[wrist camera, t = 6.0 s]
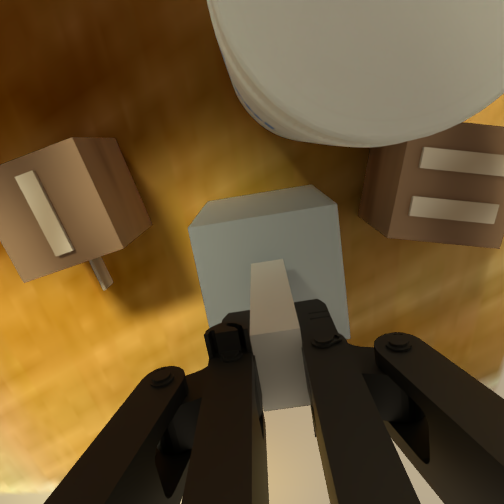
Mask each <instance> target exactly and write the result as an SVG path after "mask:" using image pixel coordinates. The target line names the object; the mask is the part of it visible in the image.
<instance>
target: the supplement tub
mask: <svg viewBox="0 0 504 504" xmlns="http://www.w3.org/2000/svg"><path fill="white" fill-rule="evenodd" d="M207 5H208V9H209V13H210V17H211V21H212V25H213V28H214V32H215V36H216V39H217V42H218V45H219V47H220V50H221V53H222V56H223V59H224V62H225V65H226V68H227V71H228V74H229V76H230V79H231V82H232V85H233V88H234V90H235V93H236V95H237V97H238V99H239V100H240V102H241V104H242V105H243V107H244V108H245V109H246V111H247V112H248V113H249V114H250V115H251V116H252V117H253V118H254V119H255V120H256V121H257V122H258V123H259V124H260V125H261V126H263V127H264V128H266V129H267V130H269V131H270V132H272V133H274V134H276V135H278V136H281V137H283V138H286V139H290V140H295V141H302V142H310V143H317V144H324V145H332V146H344V147H381V146H388V145H393V144H399V143H403V142H406V141H411V140H415V139H419V138H423V137H427V136H430V135H433V134H436V133H438V132H441V131H444V130H446V129H448V128H451V127H453V126H455V125H457V124H459V123H462V122H463V121H465V120H467V119H468V118H470V117H472V116H474V115H475V114H477V113H478V112H480V111H481V110H483V109H484V108H486V107H487V106H488V105H490V104H491V103H492V102H494V101H495V100H496V99H497V98H499V97H500V96H501V95H502V94H503V93H504V0H207Z"/></svg>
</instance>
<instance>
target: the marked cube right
mask: <svg viewBox="0 0 504 504" xmlns="http://www.w3.org/2000/svg"><path fill="white" fill-rule="evenodd" d="M358 216H359V217H360V218H361V219H363V220H364V221H365V222H367V223H368V224H369V225H371V226H372V227H373V228H375V229H376V230H377V231H379V232H380V233H382V234H383V235H384V236H386V237H387V238H394V239H404V240H415V241H425V242H435V243H445V244H456V245H466V246H476V247H486V248H497V249H500V246H501V242H502V239H503V236H504V127H501V126H492V125H482V124H473V123H463V122H462V123H459V124H457V125H455V126H453V127H451V128H448V129H446V130H444V131H441V132H438V133H436V134H433V135H430V136H427V137H423V138H419V139H415V140H411V141H406V142H403V143H399V144H393V145H388V146H381V147H370V151H369V157H368V162H367V168H366V173H365V179H364V184H363V190H362V195H361V201H360V206H359V212H358Z"/></svg>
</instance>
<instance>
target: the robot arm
mask: <svg viewBox="0 0 504 504" xmlns="http://www.w3.org/2000/svg"><path fill="white" fill-rule="evenodd" d="M204 338H205V342H206V347H207V351H208V355H209V363H208V366H207V367H206V368H204V369H202V370H200V371H198V372H195V373H192V374H189V375H187V376H185V373H184V370H183V369H181V368H180V367H175V366H168V367H161V368H158V369H156V370H154V371H153V372H151V373H149V374H148V375H146V376H145V377H144V378H143V379H142V380H141V382H140V383H139V384H138V385H137V387H136V388H135V389H134V390H133V392H132V393H131V394H130V395H129V397H128V398H127V399H126V401H125V402H124V403H123V404H122V406H121V407H120V408H119V409H118V411H117V412H116V413H115V414H114V416H113V417H112V418H111V419H110V421H109V422H108V423H107V424H106V426H105V427H104V428H103V429H102V431H101V432H100V433H99V435H98V436H97V437H96V438H95V440H94V441H93V442H92V443H91V445H90V446H89V447H88V448H87V450H86V451H85V452H84V453H83V455H82V456H81V457H80V458H79V460H78V461H77V462H76V463H75V465H74V466H73V467H72V469H71V470H70V471H69V472H68V474H67V475H66V476H65V477H64V479H63V480H62V481H61V482H60V484H59V485H58V486H57V487H56V489H55V490H54V491H53V492H52V494H51V495H50V496H49V497H48V499H47V500H46V501H45V503H44V504H180V501H181V499H182V503H181V504H269V493H268V472H267V451H266V429H265V419H264V414H263V409H264V411H271V410H278V409H285V408H293V407H300V406H308V405H311V411H312V418H313V425H314V432H315V437H317V441H318V446H319V451H320V456H321V460H322V465H323V470H324V475H325V480H326V485H327V489H328V494H329V499H330V503H331V504H420V501H419V499H418V497H417V495H416V493H415V490H414V488H413V486H412V484H411V481H410V479H409V477H408V475H407V473H406V471H405V468H404V466H403V464H402V462H401V460H400V457H399V455H398V453H397V451H396V448H395V446H394V444H393V442H392V440H391V438H392V439H393V441H394V442H395V443H396V444H397V445H398V447H399V448H400V449H401V451H402V452H403V453H404V454H405V456H406V457H407V458H408V459H409V460H410V462H411V463H412V464H413V465H414V467H415V468H416V469H417V470H418V471H419V473H420V474H421V475H422V477H423V478H424V479H425V480H426V482H427V483H428V484H429V485H430V486H431V488H432V489H433V490H434V491H435V493H436V494H437V495H438V496H439V498H440V499H441V500H442V501H443V503H444V504H504V399H503V398H501V397H500V396H499V395H497V394H496V393H495V392H493V391H492V390H490V389H489V388H488V387H486V386H485V385H483V384H482V383H481V382H479V381H478V380H476V379H475V378H474V377H472V376H471V375H469V374H468V373H467V372H465V371H464V370H462V369H461V368H460V367H458V366H457V365H455V364H454V363H453V362H451V361H450V360H448V359H447V358H446V357H444V356H443V355H442V354H440V353H439V352H437V351H436V350H435V349H433V348H432V347H430V346H429V345H428V344H426V343H425V342H423V341H422V340H421V339H419V338H417V337H415V336H413V335H410V334H406V333H400V332H398V333H397V332H393V333H388V334H384V335H382V336H380V337H378V338H377V339H376V340H375V341H374V347H359V346H354V345H351V344H348V343H347V340H346V339H345V337H344V336H343V335H341V334H339V333H338V331H337V329H336V327H335V325H334V322H333V320H332V318H331V315H330V313H329V311H328V308H327V306H326V304H325V303H324V302H322V301H321V300H319V299H312V300H305V301H299V302H293V298H292V294H291V289H290V285H289V281H288V277H287V273H286V269H285V265H284V261H283V259H278V260H272V261H266V262H259V263H253V264H251V286H250V310H245V311H239V312H232V313H228V314H227V315H226V316H225V317H224V318H223V320H222V323H219V324H217V325H214V326H212V327H211V328H209V329H208V330H207V331H206V332H205V334H204ZM182 497H183V498H182Z"/></svg>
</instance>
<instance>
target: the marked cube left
mask: <svg viewBox="0 0 504 504" xmlns="http://www.w3.org/2000/svg"><path fill="white" fill-rule="evenodd" d="M151 225H153V224H152V222H151V220H150V218H149V215H148V213H147V211H146V208H145V206H144V204H143V201H142V199H141V197H140V194H139V192H138V190H137V188H136V185H135V183H134V181H133V178H132V176H131V174H130V171H129V169H128V167H127V164H126V162H125V160H124V157H123V155H122V153H121V151H120V148H119V146H118V144H117V141H116V139H115V138H92V137H71V138H68V139H66V140H63V141H61V142H58V143H55V144H53V145H50V146H48V147H45V148H42V149H40V150H37V151H35V152H32V153H29V154H27V155H24V156H22V157H19V158H16V159H14V160H11V161H9V162H6V163H3V164H1V165H0V241H1V243H2V245H3V246H4V248H5V250H6V252H7V254H8V255H9V257H10V259H11V261H12V263H13V264H14V266H15V268H16V270H17V272H18V273H19V275H20V277H21V279H22V281H23V282H24V283H25V282H28V281H31V280H34V279H37V278H40V277H43V276H46V275H49V274H51V273H54V272H57V271H60V270H63V269H66V268H69V267H72V266H75V265H77V264H80V263H83V262H86V261H89V262H90V264H91V266H92V269H93V271H94V273H95V275H96V277H97V279H98V281H99V283H100V285H101V287H102V289H103V291H104V290H106V289H107V288H108V287H109V286H110V285H111V284H112V283H113V280H112V278H111V276H110V274H109V272H108V270H107V268H106V266H105V264H104V262H103V260H102V257H101V256H103V255H106V254H109V253H112V252H115V251H118V250H121V249H124V248H125V247H126V246H127V245H128V244H130V243H131V242H132V241H133V240H135V239H136V238H137V237H138V236H139V235H141V234H142V233H143V232H144V231H145V230H147V229H148V228H149V227H150V226H151Z"/></svg>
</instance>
